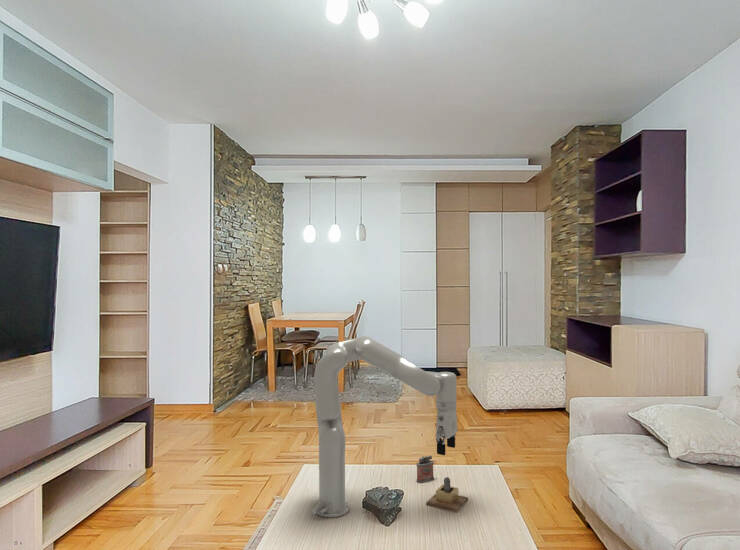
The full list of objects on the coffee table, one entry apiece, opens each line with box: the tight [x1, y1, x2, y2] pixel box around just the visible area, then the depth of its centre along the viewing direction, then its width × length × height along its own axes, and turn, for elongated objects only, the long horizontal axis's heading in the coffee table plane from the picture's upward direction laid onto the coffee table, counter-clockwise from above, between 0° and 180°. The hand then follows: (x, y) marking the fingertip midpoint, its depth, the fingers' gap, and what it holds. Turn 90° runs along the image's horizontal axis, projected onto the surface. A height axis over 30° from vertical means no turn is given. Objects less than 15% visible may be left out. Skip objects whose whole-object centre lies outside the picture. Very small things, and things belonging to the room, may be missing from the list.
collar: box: [435, 484, 459, 505], centre depth 187 cm, size 6×6×4 cm
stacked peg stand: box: [425, 477, 469, 513], centre depth 187 cm, size 12×12×9 cm
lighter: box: [416, 455, 435, 484], centre depth 208 cm, size 8×3×10 cm, turn 118°
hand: (446, 450), depth 187 cm, fingers open, 9 cm apart
